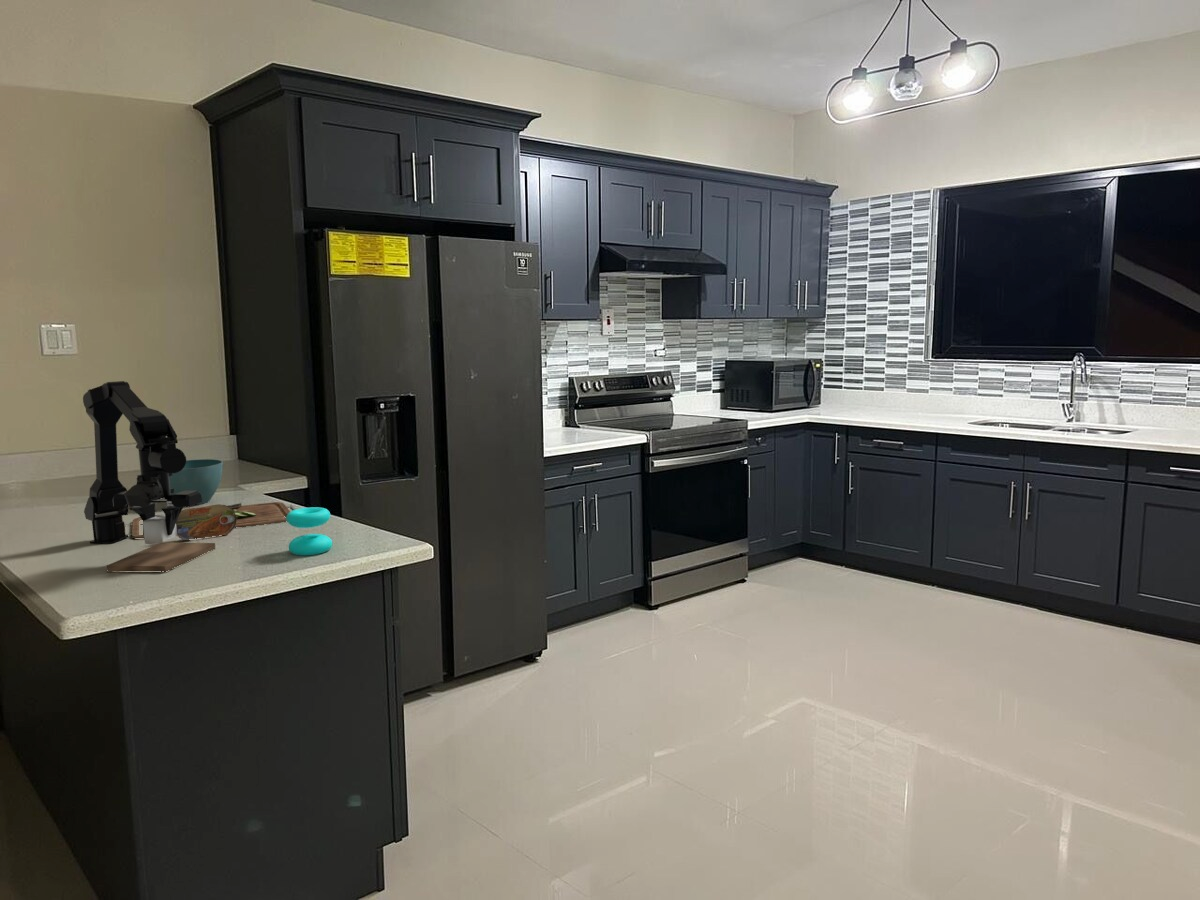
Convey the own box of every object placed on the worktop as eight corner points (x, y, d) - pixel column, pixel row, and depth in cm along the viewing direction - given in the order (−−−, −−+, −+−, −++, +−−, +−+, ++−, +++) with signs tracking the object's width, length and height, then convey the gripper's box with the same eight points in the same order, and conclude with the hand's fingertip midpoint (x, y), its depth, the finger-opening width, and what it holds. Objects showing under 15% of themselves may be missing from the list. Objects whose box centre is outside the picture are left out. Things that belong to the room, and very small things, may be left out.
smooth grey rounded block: (141, 543, 196) (138, 522, 195) (165, 534, 205) (162, 513, 204) (157, 544, 195) (155, 522, 195) (180, 534, 204) (178, 513, 203)
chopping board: (121, 544, 219) (119, 532, 218) (123, 523, 242) (122, 512, 242) (304, 521, 239) (303, 511, 239) (290, 504, 263) (289, 494, 262)
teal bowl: (225, 505, 261) (221, 465, 259) (158, 511, 255) (154, 470, 253) (226, 494, 278) (223, 457, 276) (164, 500, 271) (160, 462, 269)
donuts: (330, 504, 211) (329, 513, 201) (333, 544, 212) (332, 554, 203) (287, 508, 208) (284, 516, 198) (290, 548, 209) (287, 558, 200)
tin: (175, 543, 216) (172, 511, 215) (173, 541, 219) (169, 509, 217) (238, 534, 225) (235, 502, 224) (235, 531, 227) (232, 500, 226)
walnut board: (107, 571, 192) (106, 565, 192) (161, 548, 211) (161, 542, 211) (165, 572, 190) (165, 566, 190) (215, 548, 210) (214, 542, 210)
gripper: (92, 475, 191) (100, 543, 193) (171, 475, 189) (178, 544, 191) (125, 466, 202) (132, 531, 204) (200, 466, 200) (206, 531, 202)
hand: (161, 534), depth 200 cm, fingers closed on smooth grey rounded block, 4 cm apart
